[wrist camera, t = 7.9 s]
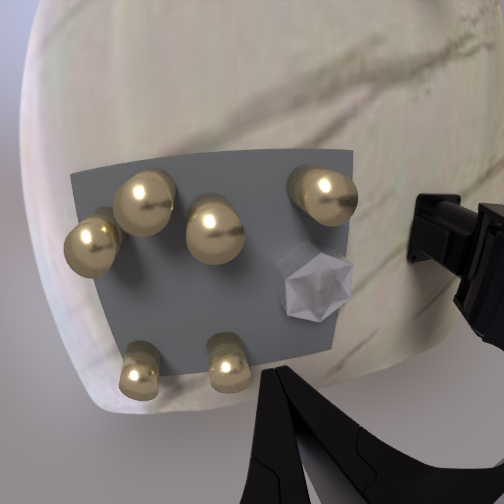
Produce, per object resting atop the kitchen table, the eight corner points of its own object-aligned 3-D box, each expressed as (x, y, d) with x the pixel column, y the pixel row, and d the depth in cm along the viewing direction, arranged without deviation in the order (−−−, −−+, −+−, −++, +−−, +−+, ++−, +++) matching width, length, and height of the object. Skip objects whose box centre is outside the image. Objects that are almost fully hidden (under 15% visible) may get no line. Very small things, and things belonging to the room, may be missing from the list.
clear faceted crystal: (322, 226, 20) (338, 239, 18) (350, 272, 22) (365, 286, 20) (258, 275, 20) (267, 293, 18) (294, 315, 22) (304, 333, 20)
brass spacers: (328, 156, 18) (359, 164, 14) (313, 342, 24) (330, 372, 21) (77, 180, 15) (50, 194, 11) (131, 366, 21) (126, 401, 18)
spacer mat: (349, 149, 18) (353, 150, 18) (329, 345, 26) (331, 348, 25) (73, 173, 15) (70, 174, 15) (132, 373, 22) (131, 377, 22)
